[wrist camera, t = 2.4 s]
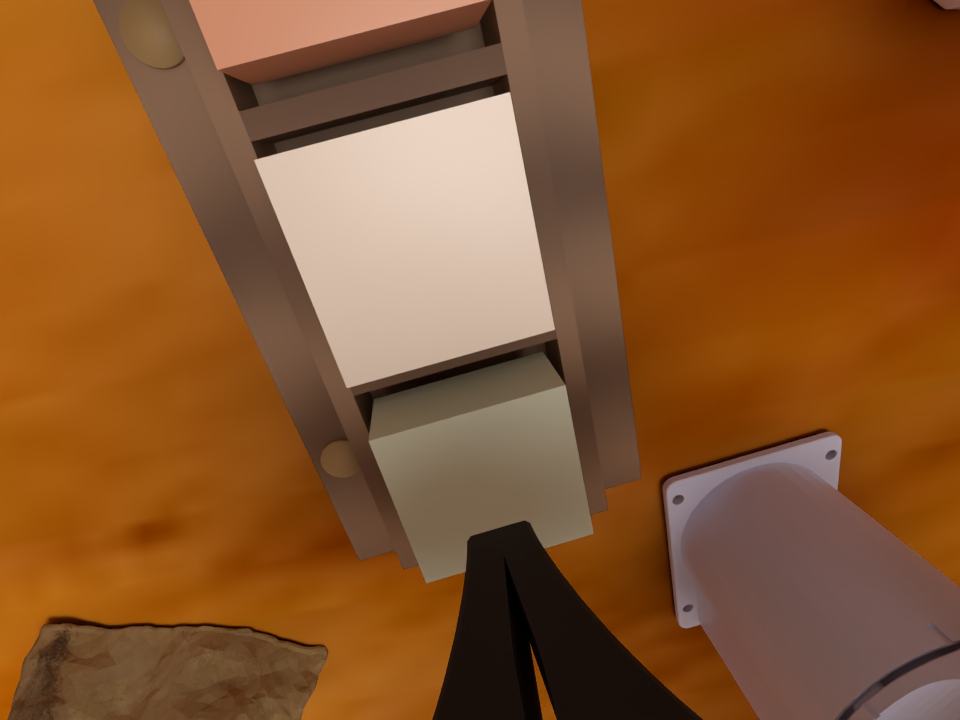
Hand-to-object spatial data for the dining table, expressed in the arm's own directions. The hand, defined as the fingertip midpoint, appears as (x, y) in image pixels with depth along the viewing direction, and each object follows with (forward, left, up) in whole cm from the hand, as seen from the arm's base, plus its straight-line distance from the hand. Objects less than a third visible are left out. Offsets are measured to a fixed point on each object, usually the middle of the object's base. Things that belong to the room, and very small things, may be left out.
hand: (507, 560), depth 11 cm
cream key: (+6, 0, -5) cm, 8 cm away
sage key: (0, 0, -5) cm, 5 cm away
